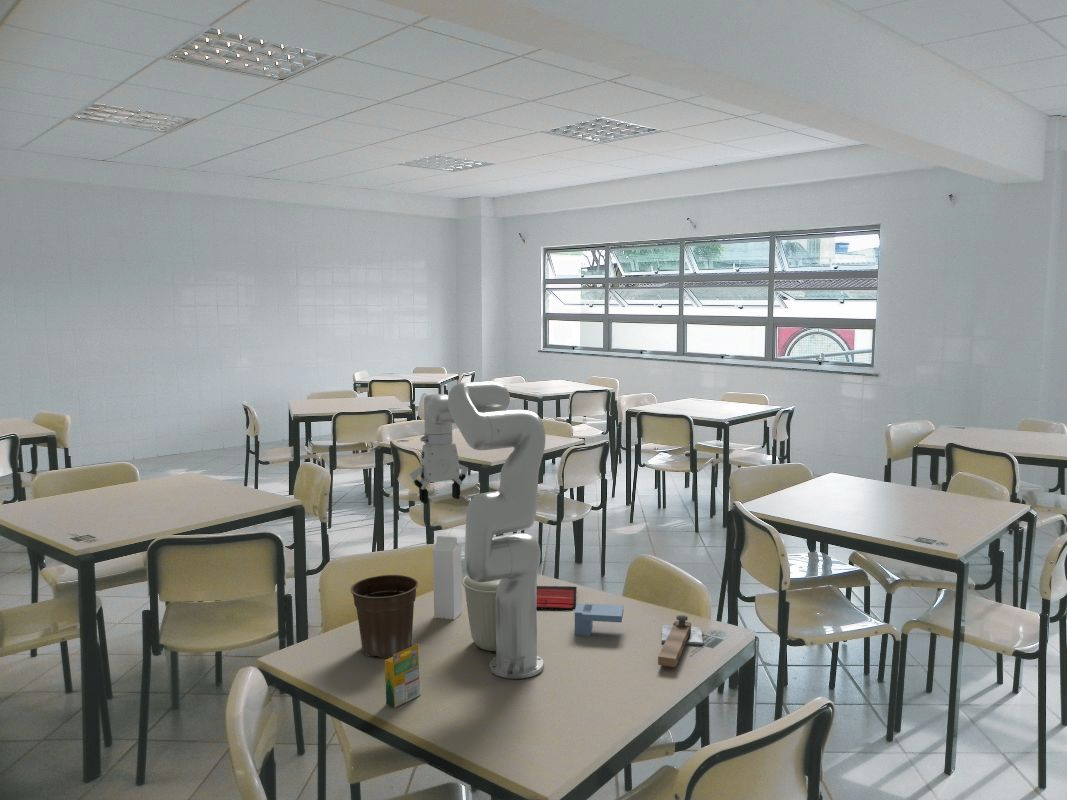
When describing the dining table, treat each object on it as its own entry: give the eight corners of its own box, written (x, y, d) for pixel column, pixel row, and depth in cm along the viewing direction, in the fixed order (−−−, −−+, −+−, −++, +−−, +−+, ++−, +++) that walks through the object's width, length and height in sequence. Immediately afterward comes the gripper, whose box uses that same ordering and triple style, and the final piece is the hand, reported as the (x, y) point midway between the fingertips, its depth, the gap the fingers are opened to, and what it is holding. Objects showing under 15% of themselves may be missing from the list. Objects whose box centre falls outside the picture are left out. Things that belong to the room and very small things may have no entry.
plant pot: (372, 668, 185) (370, 601, 183) (341, 647, 197) (339, 584, 196) (432, 649, 195) (430, 586, 193) (398, 630, 207) (397, 570, 206)
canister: (451, 654, 192) (449, 569, 190) (478, 626, 210) (477, 548, 207) (522, 662, 187) (521, 575, 185) (544, 633, 204) (543, 553, 202)
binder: (506, 584, 237) (576, 585, 236) (506, 591, 238) (576, 593, 236) (500, 605, 221) (575, 607, 220) (500, 613, 222) (575, 615, 220)
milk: (442, 610, 222) (440, 533, 220) (462, 612, 220) (461, 534, 218) (433, 618, 216) (431, 538, 214) (454, 620, 214) (452, 540, 212)
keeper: (621, 639, 200) (621, 616, 199) (574, 636, 202) (574, 613, 201) (623, 627, 208) (623, 605, 207) (577, 624, 210) (577, 602, 209)
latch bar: (674, 628, 204) (674, 612, 204) (692, 630, 203) (692, 614, 202) (657, 665, 182) (657, 647, 182) (676, 668, 181) (676, 650, 180)
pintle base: (702, 645, 196) (702, 642, 196) (661, 643, 197) (661, 640, 197) (701, 630, 205) (701, 627, 205) (662, 627, 207) (662, 624, 207)
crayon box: (411, 691, 173) (409, 640, 172) (420, 695, 171) (419, 643, 170) (385, 704, 167) (383, 651, 166) (394, 708, 166) (393, 654, 164)
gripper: (415, 443, 210) (416, 507, 212) (473, 438, 219) (474, 499, 221) (403, 440, 216) (405, 502, 218) (460, 435, 226) (462, 494, 227)
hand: (440, 500), depth 220 cm, fingers open, 9 cm apart
